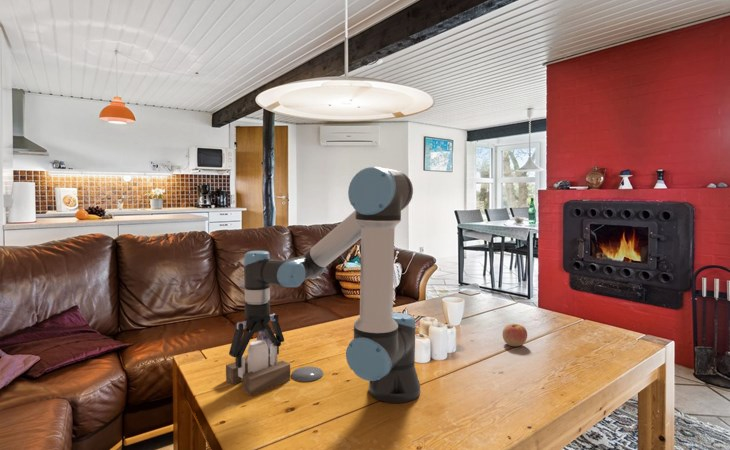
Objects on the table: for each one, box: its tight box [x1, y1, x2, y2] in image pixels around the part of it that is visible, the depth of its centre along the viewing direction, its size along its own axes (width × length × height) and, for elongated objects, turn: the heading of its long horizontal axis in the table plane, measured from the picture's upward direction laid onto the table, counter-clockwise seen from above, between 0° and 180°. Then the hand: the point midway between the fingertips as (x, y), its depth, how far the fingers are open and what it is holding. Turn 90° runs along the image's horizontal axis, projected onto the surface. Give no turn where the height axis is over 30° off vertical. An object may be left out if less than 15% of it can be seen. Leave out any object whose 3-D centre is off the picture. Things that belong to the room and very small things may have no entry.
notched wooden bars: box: [225, 354, 291, 397], centre depth 125 cm, size 14×14×5 cm
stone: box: [256, 331, 273, 354], centre depth 143 cm, size 10×6×15 cm
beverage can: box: [247, 339, 268, 373], centre depth 124 cm, size 6×6×12 cm
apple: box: [502, 323, 528, 347], centre depth 156 cm, size 9×9×8 cm
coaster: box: [291, 366, 324, 383], centre depth 129 cm, size 10×10×1 cm
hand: (258, 371), depth 125 cm, fingers open, 11 cm apart
